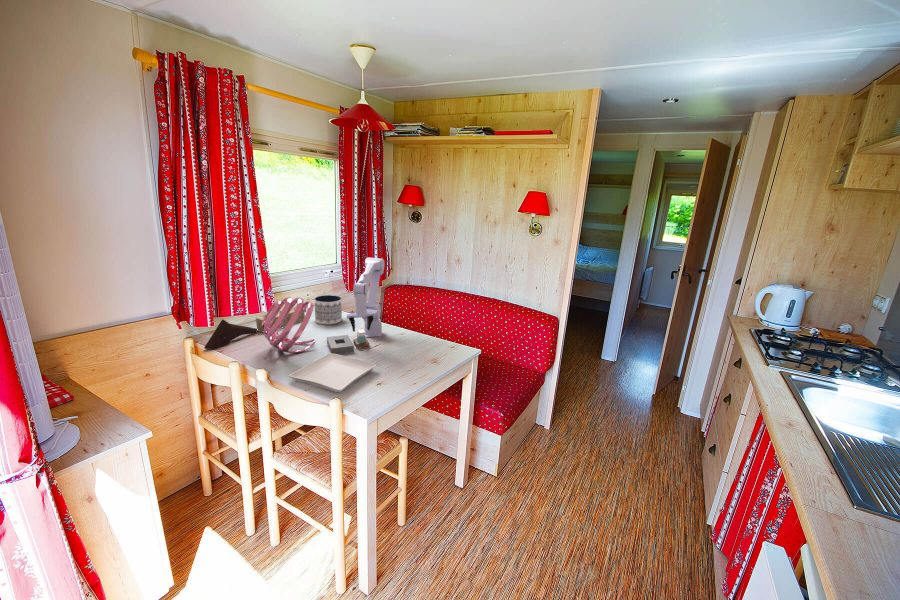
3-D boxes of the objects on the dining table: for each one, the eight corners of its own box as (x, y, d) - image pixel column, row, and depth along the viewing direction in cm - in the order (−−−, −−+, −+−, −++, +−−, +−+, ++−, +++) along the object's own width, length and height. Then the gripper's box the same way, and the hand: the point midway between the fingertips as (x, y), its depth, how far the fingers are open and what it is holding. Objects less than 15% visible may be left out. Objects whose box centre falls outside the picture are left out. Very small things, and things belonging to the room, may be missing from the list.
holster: (242, 356, 209) (201, 347, 186) (253, 327, 212) (214, 315, 190) (249, 358, 207) (208, 349, 184) (260, 329, 210) (221, 317, 188)
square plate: (330, 359, 186) (329, 351, 185) (377, 371, 176) (378, 363, 175) (287, 382, 162) (286, 374, 161) (340, 398, 152) (340, 389, 151)
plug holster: (365, 341, 208) (365, 337, 207) (369, 347, 201) (369, 342, 201) (353, 343, 205) (353, 338, 205) (356, 348, 199) (356, 344, 198)
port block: (347, 340, 208) (347, 334, 207) (353, 352, 194) (353, 345, 193) (326, 343, 203) (326, 336, 202) (331, 354, 189) (331, 348, 188)
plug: (363, 343, 206) (363, 329, 204) (365, 346, 202) (365, 332, 200) (357, 344, 205) (356, 330, 202) (358, 347, 201) (358, 332, 198)
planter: (347, 319, 242) (346, 297, 238) (329, 326, 228) (329, 303, 224) (327, 315, 248) (326, 293, 244) (309, 321, 234) (308, 299, 230)
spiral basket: (334, 304, 206) (287, 277, 193) (332, 333, 182) (278, 306, 169) (305, 339, 213) (258, 316, 200) (300, 372, 189) (245, 349, 176)
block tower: (266, 335, 213) (307, 319, 237) (264, 320, 210) (306, 307, 235) (256, 331, 216) (298, 317, 241) (255, 317, 214) (297, 304, 238)
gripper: (348, 308, 191) (348, 334, 194) (376, 306, 197) (376, 331, 201) (345, 304, 197) (346, 329, 201) (373, 303, 203) (373, 327, 207)
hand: (361, 330), depth 201 cm, fingers open, 7 cm apart
